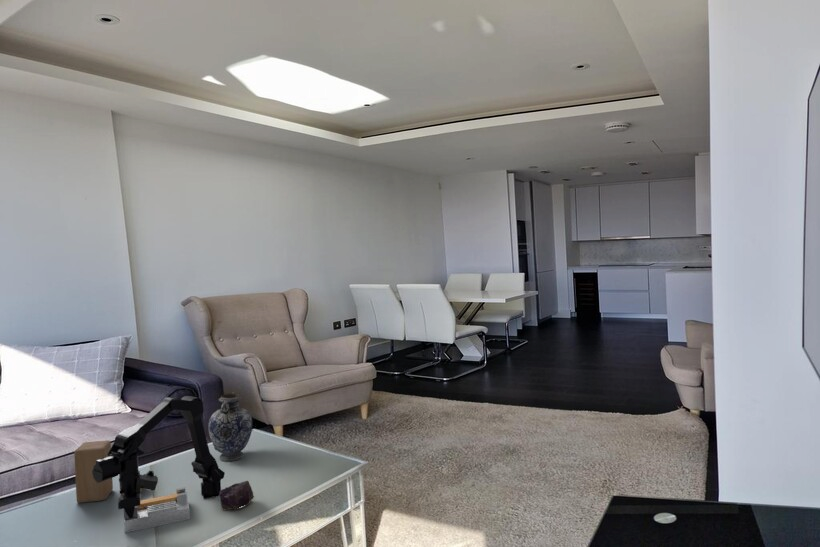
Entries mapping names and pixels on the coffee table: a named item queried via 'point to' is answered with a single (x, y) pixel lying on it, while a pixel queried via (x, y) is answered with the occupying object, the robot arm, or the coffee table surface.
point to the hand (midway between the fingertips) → (131, 517)
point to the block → (83, 472)
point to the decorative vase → (230, 428)
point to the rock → (236, 495)
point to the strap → (158, 500)
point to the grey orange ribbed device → (160, 513)
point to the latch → (133, 514)
